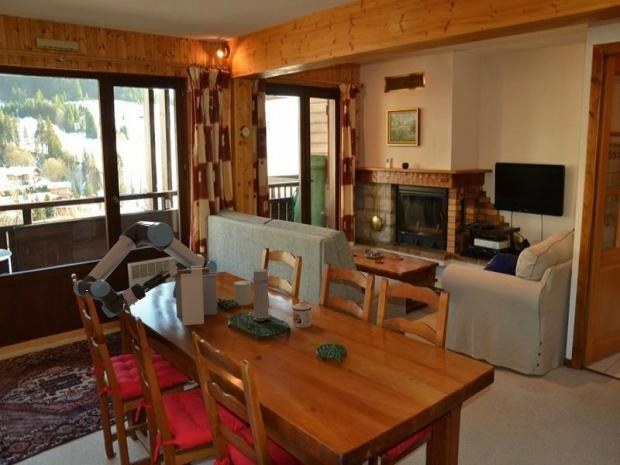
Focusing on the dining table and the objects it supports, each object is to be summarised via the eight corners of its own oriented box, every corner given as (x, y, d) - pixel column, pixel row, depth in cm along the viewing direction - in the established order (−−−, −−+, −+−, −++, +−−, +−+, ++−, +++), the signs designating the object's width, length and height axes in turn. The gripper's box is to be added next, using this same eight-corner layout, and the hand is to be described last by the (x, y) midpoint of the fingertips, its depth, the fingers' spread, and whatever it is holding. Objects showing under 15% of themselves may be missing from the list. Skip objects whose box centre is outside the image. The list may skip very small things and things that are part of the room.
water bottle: (262, 323, 258) (261, 272, 254) (250, 320, 263) (249, 270, 259) (274, 318, 265) (273, 269, 262) (262, 316, 270) (261, 267, 266)
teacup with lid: (288, 324, 257) (288, 300, 255) (304, 320, 262) (304, 297, 260) (303, 330, 247) (303, 306, 245) (319, 327, 252) (319, 303, 251)
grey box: (176, 313, 276) (175, 274, 273) (216, 310, 280) (214, 272, 277) (176, 317, 269) (174, 277, 266) (217, 314, 274) (215, 274, 271)
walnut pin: (161, 277, 255) (161, 271, 255) (208, 273, 263) (207, 267, 263) (162, 278, 253) (162, 272, 252) (209, 274, 261) (209, 268, 260)
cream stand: (182, 319, 266) (180, 266, 262) (203, 317, 268) (201, 265, 264) (182, 325, 256) (180, 270, 252) (204, 323, 259) (202, 269, 255)
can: (250, 305, 289) (249, 283, 287) (233, 305, 289) (232, 283, 287) (252, 300, 298) (251, 279, 296) (235, 300, 298) (235, 279, 296)
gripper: (140, 294, 265) (180, 270, 268) (137, 306, 245) (180, 279, 248) (132, 282, 263) (172, 257, 266) (127, 293, 243) (171, 266, 246)
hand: (176, 268), depth 257 cm, fingers open, 8 cm apart
